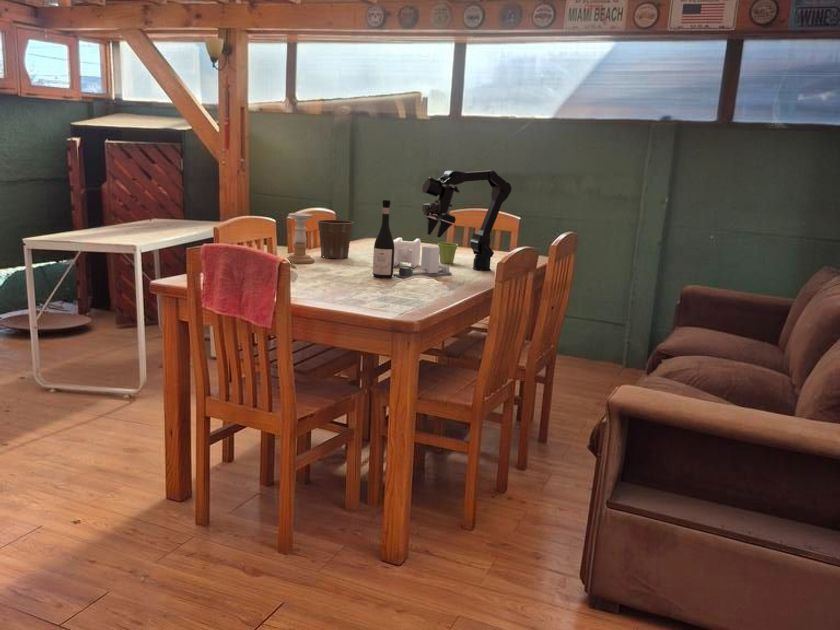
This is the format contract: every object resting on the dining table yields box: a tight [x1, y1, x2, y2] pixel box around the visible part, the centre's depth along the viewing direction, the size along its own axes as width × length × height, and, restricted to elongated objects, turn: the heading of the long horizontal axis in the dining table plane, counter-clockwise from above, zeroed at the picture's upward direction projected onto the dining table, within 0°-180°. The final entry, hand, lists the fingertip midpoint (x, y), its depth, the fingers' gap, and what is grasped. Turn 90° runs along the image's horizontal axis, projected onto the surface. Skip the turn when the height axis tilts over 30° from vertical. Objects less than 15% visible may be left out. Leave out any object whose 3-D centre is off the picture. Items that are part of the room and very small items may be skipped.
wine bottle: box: [372, 199, 395, 279], centre depth 281 cm, size 8×8×30 cm
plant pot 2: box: [437, 242, 459, 265], centre depth 329 cm, size 9×9×9 cm
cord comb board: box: [392, 264, 453, 280], centre depth 292 cm, size 25×8×4 cm, turn 133°
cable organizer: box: [393, 237, 422, 269], centre depth 313 cm, size 15×11×12 cm
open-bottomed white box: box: [420, 245, 440, 274], centre depth 294 cm, size 5×5×10 cm
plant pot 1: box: [316, 219, 355, 259], centre depth 325 cm, size 16×16×16 cm
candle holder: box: [285, 212, 315, 264], centre depth 306 cm, size 12×12×20 cm
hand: (433, 235), depth 303 cm, fingers open, 9 cm apart
